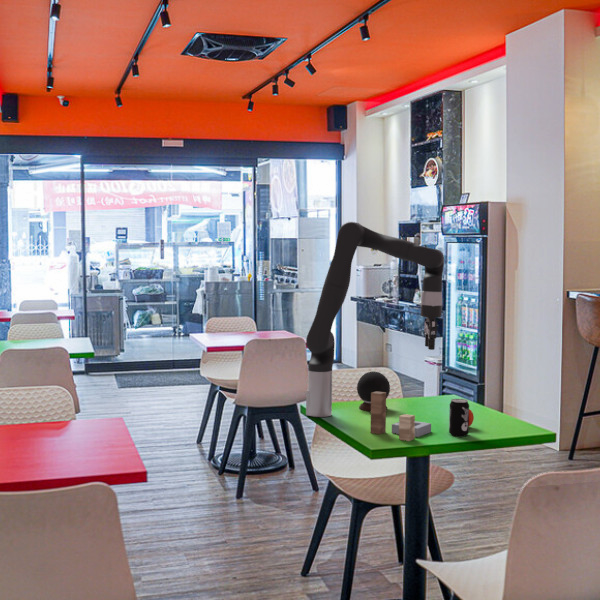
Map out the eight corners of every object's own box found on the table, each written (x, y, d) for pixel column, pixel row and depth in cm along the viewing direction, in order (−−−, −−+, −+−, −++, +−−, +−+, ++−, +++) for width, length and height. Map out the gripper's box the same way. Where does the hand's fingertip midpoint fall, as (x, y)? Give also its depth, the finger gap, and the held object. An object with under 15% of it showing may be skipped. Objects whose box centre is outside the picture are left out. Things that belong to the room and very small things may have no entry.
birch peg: (408, 441, 263) (409, 417, 263) (398, 439, 265) (399, 415, 265) (414, 439, 266) (414, 415, 266) (404, 437, 268) (404, 414, 268)
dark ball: (385, 405, 325) (385, 369, 324) (393, 411, 312) (394, 373, 311) (353, 405, 323) (354, 369, 322) (360, 412, 310) (361, 374, 309)
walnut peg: (379, 434, 272) (380, 394, 272) (370, 432, 275) (371, 392, 274) (385, 432, 275) (386, 392, 275) (376, 430, 278) (376, 391, 277)
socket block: (417, 437, 269) (417, 428, 269) (391, 432, 275) (391, 424, 275) (431, 432, 277) (431, 423, 277) (405, 428, 283) (405, 419, 283)
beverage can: (457, 437, 269) (457, 402, 268) (445, 433, 275) (445, 399, 274) (472, 435, 272) (473, 401, 271) (460, 431, 278) (460, 397, 277)
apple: (476, 430, 281) (476, 407, 280) (453, 430, 280) (454, 407, 280) (469, 425, 289) (470, 403, 288) (447, 425, 288) (448, 403, 288)
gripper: (418, 302, 296) (416, 345, 297) (423, 304, 282) (421, 350, 283) (438, 302, 296) (437, 346, 297) (445, 305, 282) (443, 351, 283)
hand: (429, 348), depth 290 cm, fingers open, 8 cm apart
